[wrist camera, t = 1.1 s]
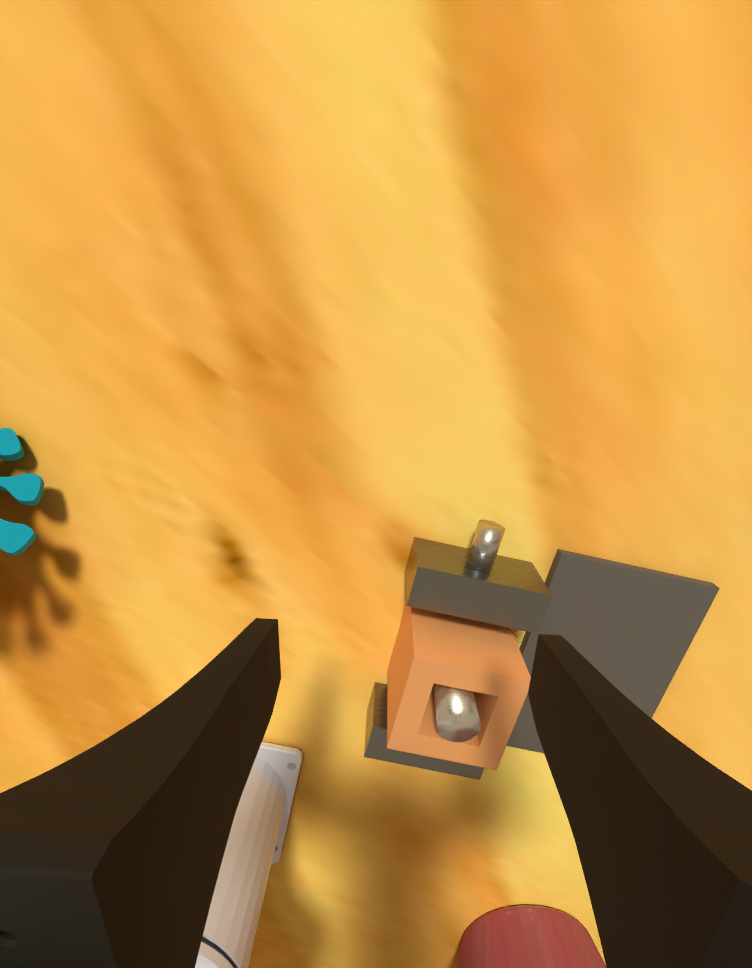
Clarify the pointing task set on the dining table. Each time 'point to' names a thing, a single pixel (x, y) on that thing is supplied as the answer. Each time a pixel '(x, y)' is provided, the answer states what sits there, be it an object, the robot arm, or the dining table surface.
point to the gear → (17, 495)
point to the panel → (618, 627)
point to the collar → (454, 685)
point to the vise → (468, 594)
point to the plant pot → (528, 940)
